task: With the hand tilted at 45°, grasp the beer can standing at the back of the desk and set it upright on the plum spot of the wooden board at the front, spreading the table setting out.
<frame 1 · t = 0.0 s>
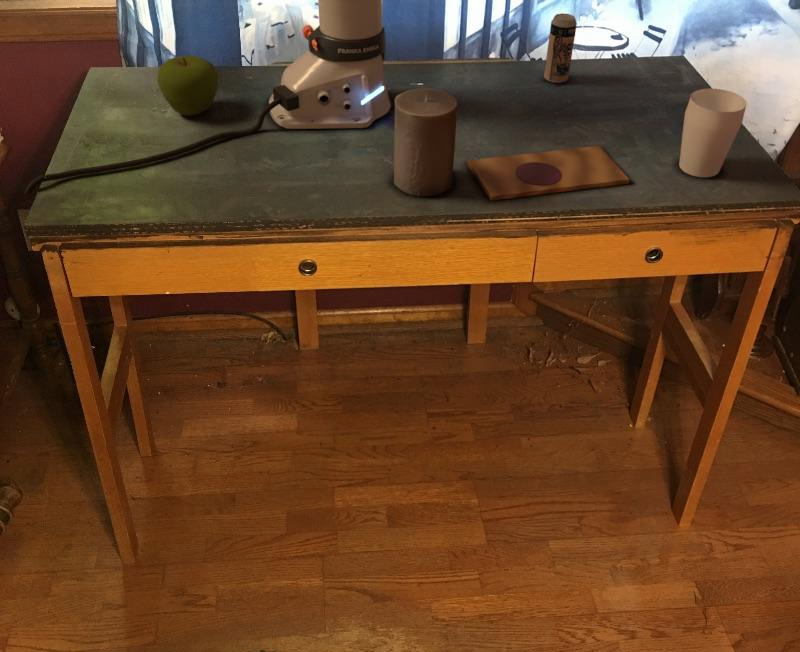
apple: (193, 112, 157), on the table
pillar candle: (422, 183, 140), on the table
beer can: (555, 80, 171), on the table
wooden board: (546, 174, 143), on the table
cup: (698, 169, 145), on the table
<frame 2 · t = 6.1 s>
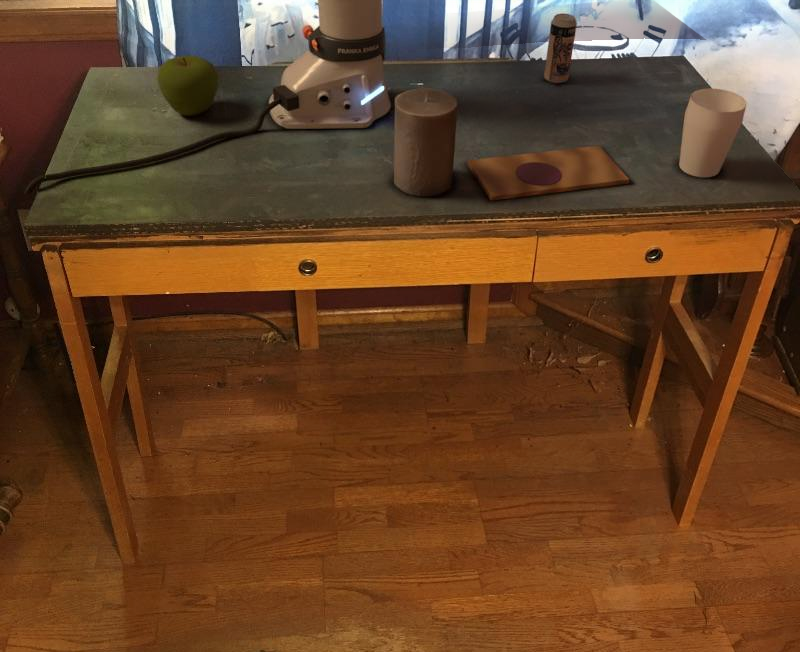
nothing on the table moved.
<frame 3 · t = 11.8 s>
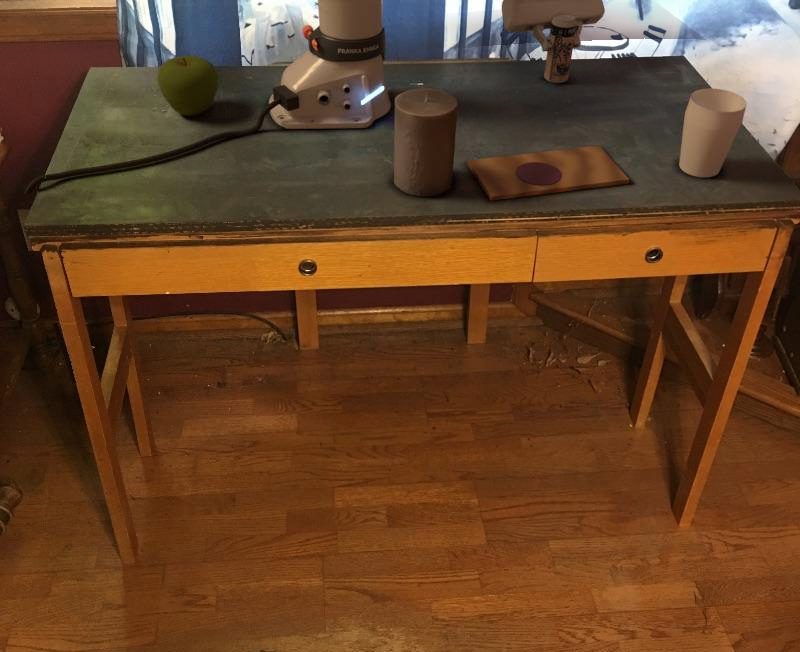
hand: (561, 48, 166), 6 cm above the table, tool tilted 45°, fingers closed on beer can, 5 cm apart
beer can: (555, 80, 170), on the table, touching gripper
everything else where it was.
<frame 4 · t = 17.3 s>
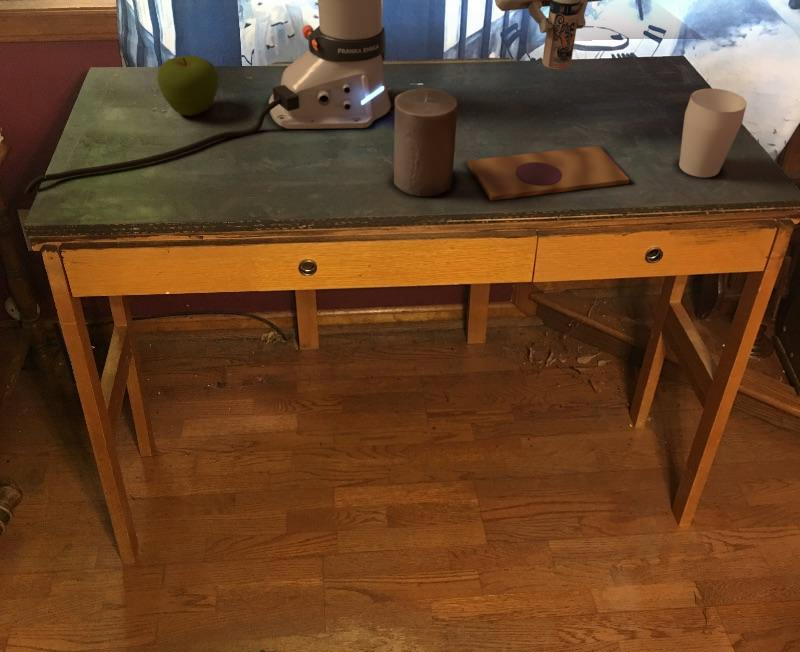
hand: (563, 29, 140), 18 cm above the table, tool tilted 45°, fingers closed on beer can, 5 cm apart
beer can: (555, 67, 145), point 12 cm above the table, touching gripper
everything else where it was.
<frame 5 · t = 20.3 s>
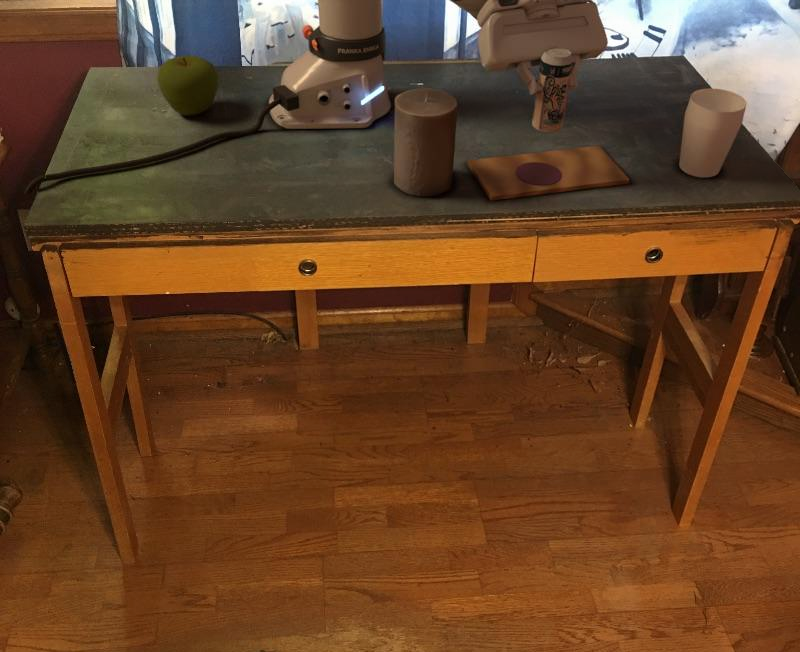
hand: (554, 90, 131), 15 cm above the table, tool tilted 45°, fingers closed on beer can, 5 cm apart
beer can: (546, 129, 136), point 8 cm above the table, touching gripper
everything else where it was.
when the fingers open (7 cm above the table, at t = 22.8 s): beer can stays where it is, resting on wooden board.
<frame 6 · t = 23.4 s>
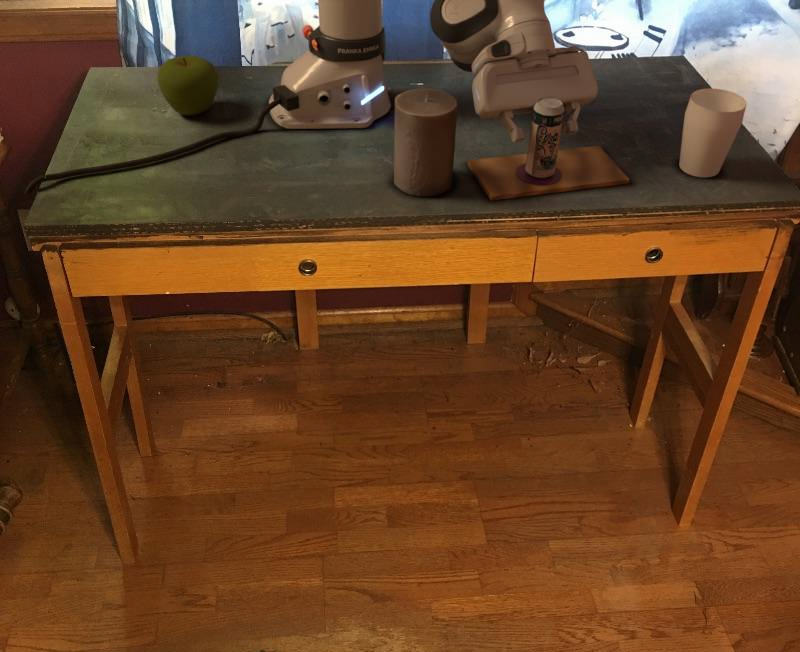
hand: (545, 137, 136), 8 cm above the table, tool tilted 45°, fingers open, 8 cm apart
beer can: (539, 173, 141), point 1 cm above the table, touching wooden board
everything else where it was.
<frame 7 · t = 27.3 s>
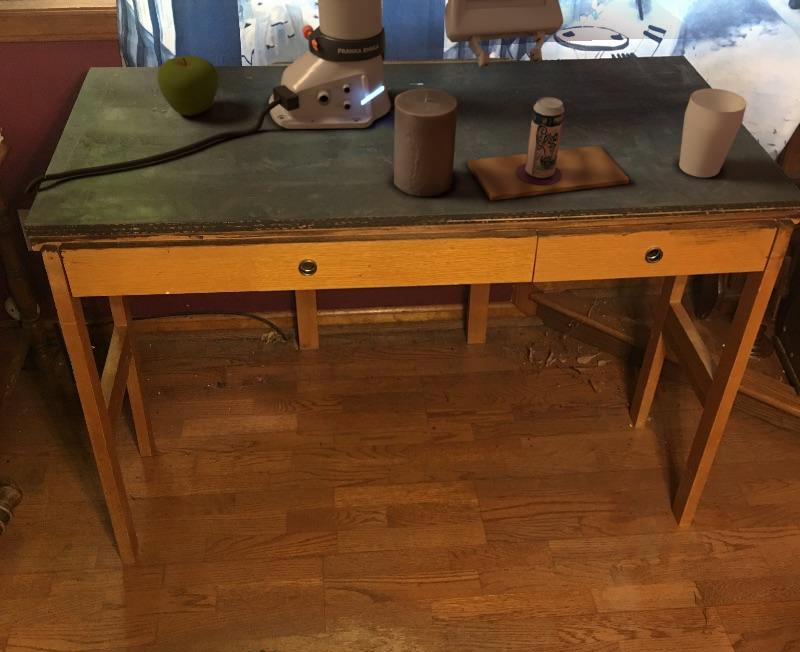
hand: (510, 63, 144), 13 cm above the table, tool tilted 40°, fingers open, 8 cm apart
nothing on the table moved.
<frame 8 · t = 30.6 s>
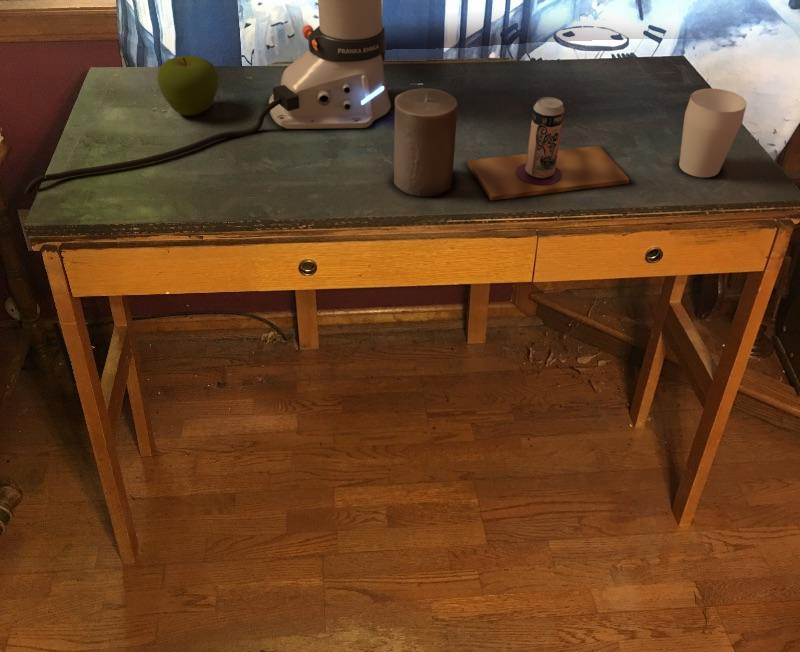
nothing on the table moved.
at the end: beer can 0.2 cm from the target spot on the wooden board, point 0.7 cm above the wooden board's base; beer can tilted 0°; the gripper is holding nothing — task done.
